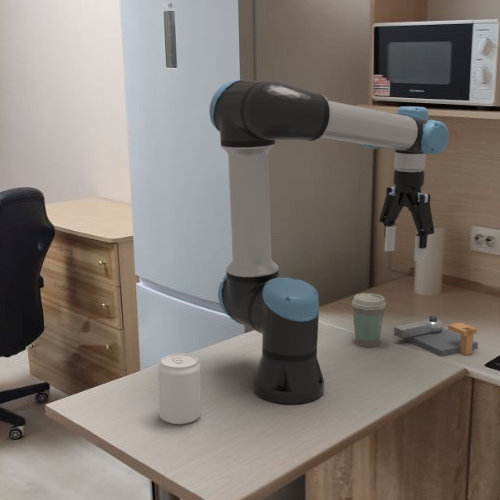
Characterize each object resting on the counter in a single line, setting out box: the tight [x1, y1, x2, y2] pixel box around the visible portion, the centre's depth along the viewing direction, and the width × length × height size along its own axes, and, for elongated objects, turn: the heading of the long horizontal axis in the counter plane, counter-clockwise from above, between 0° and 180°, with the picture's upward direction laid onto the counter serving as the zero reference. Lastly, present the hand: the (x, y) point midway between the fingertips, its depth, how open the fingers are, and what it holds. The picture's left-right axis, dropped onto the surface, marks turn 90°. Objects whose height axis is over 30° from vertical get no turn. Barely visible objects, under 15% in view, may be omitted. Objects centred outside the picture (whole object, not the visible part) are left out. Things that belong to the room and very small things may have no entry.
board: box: [401, 327, 479, 357], centre depth 194 cm, size 12×15×2 cm
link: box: [393, 315, 443, 339], centre depth 196 cm, size 14×5×3 cm, turn 120°
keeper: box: [447, 322, 478, 356], centre depth 188 cm, size 4×6×6 cm
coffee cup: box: [351, 292, 387, 348], centre depth 192 cm, size 8×8×12 cm
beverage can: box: [158, 353, 202, 425], centre depth 150 cm, size 8×8×12 cm
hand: (403, 255), depth 196 cm, fingers open, 11 cm apart
